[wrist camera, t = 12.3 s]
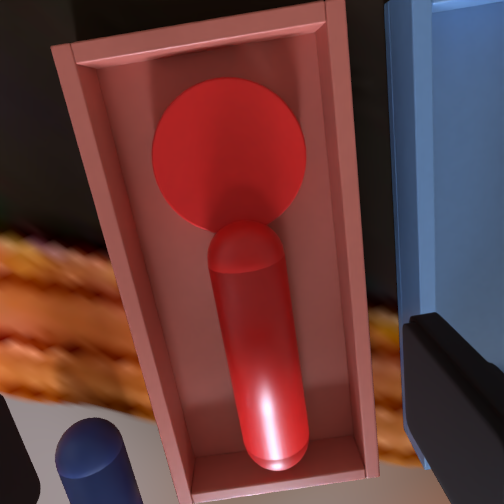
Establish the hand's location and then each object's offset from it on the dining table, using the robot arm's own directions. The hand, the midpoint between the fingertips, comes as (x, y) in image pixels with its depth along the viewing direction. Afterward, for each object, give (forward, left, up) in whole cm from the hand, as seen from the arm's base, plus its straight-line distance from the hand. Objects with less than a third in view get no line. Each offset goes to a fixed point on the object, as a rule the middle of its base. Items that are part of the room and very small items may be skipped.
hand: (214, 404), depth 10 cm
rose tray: (+1, 0, -8) cm, 8 cm away
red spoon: (+1, 0, -8) cm, 8 cm away
